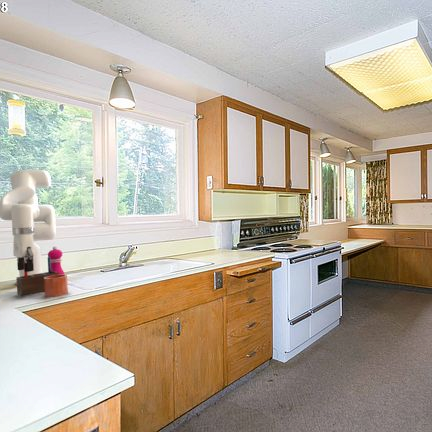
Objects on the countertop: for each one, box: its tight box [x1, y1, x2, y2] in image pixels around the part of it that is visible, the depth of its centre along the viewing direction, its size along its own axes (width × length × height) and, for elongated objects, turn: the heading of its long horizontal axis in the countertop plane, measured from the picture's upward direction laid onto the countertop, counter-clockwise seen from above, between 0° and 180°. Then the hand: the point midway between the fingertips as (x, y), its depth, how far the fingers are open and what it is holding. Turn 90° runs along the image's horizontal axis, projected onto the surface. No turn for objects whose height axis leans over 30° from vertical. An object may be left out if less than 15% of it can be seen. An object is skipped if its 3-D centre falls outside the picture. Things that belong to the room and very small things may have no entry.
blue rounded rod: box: [47, 256, 51, 274], centre depth 151 cm, size 3×1×16 cm, turn 57°
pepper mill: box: [47, 246, 66, 274], centre depth 162 cm, size 7×7×20 cm
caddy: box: [15, 271, 59, 297], centre depth 147 cm, size 5×15×9 cm, turn 148°
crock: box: [44, 273, 69, 298], centre depth 142 cm, size 8×8×9 cm
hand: (25, 270), depth 143 cm, fingers open, 7 cm apart
